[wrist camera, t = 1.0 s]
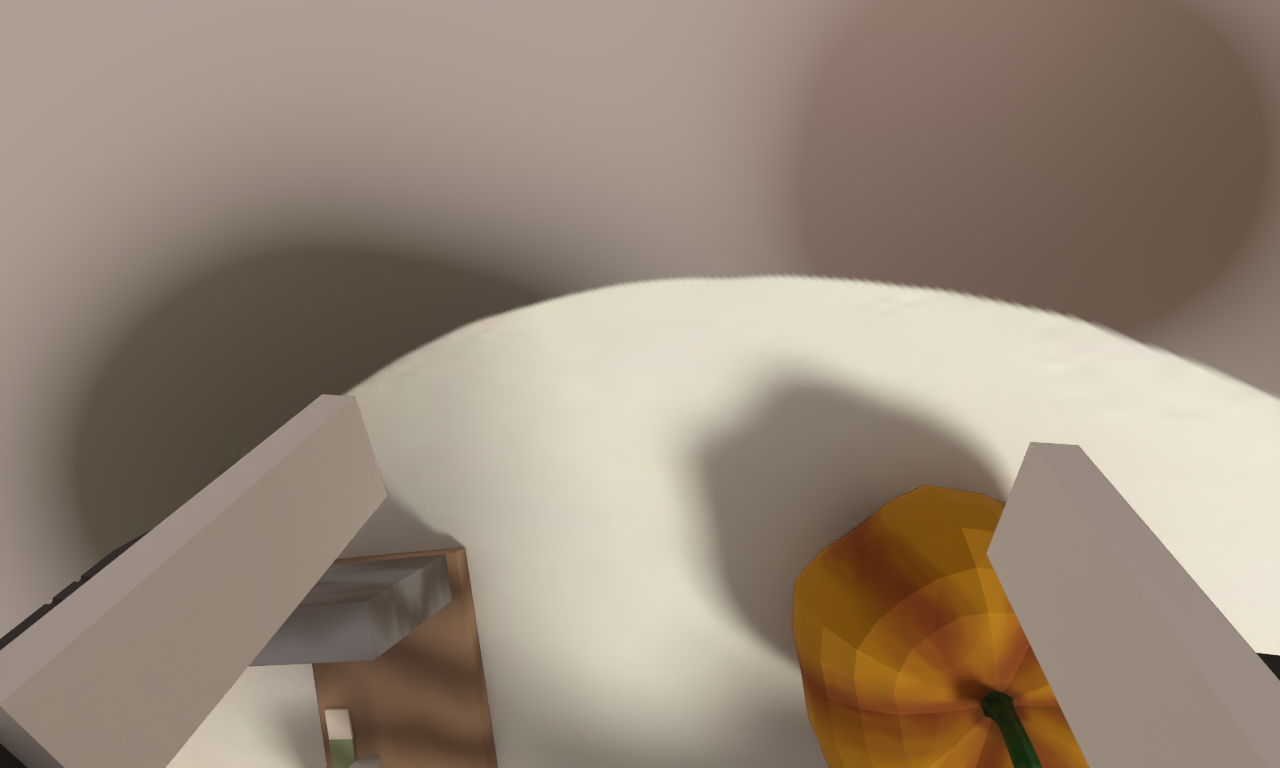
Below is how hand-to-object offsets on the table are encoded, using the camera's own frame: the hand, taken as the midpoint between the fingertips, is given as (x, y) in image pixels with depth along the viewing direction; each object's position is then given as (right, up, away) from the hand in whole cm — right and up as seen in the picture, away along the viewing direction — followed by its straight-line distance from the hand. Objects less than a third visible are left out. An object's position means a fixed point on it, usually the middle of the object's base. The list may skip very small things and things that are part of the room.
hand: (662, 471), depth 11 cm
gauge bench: (-21, -30, +39) cm, 54 cm away
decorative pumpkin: (+21, -15, +30) cm, 40 cm away
